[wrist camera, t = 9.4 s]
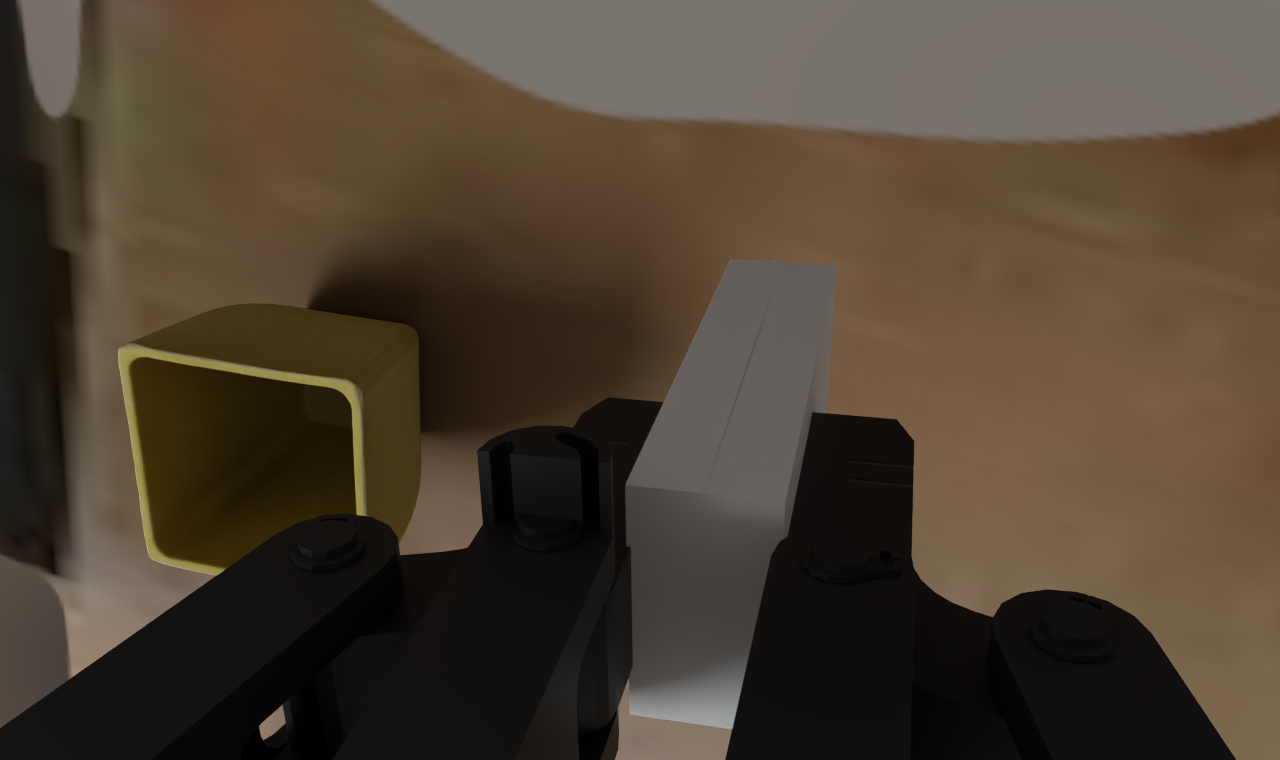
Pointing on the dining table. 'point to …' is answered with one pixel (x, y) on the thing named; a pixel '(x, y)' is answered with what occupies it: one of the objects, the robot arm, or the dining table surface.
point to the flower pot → (269, 427)
